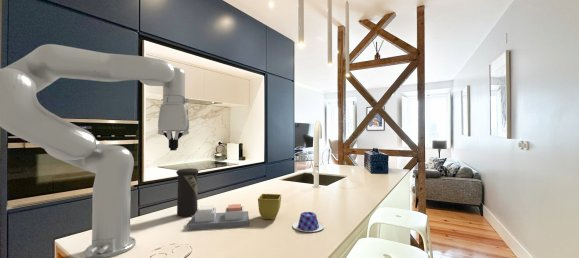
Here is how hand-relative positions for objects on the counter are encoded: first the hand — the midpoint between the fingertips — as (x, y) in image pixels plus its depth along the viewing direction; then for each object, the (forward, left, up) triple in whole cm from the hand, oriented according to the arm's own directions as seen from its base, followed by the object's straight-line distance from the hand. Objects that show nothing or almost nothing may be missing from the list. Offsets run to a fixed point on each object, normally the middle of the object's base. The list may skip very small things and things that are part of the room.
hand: (173, 150), depth 93 cm
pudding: (-8, -50, -30) cm, 59 cm away
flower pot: (+5, -37, -29) cm, 47 cm away
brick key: (+3, -22, -26) cm, 34 cm away
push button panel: (+3, -17, -29) cm, 34 cm away
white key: (+3, -12, -26) cm, 28 cm away
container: (+16, -2, -29) cm, 33 cm away
